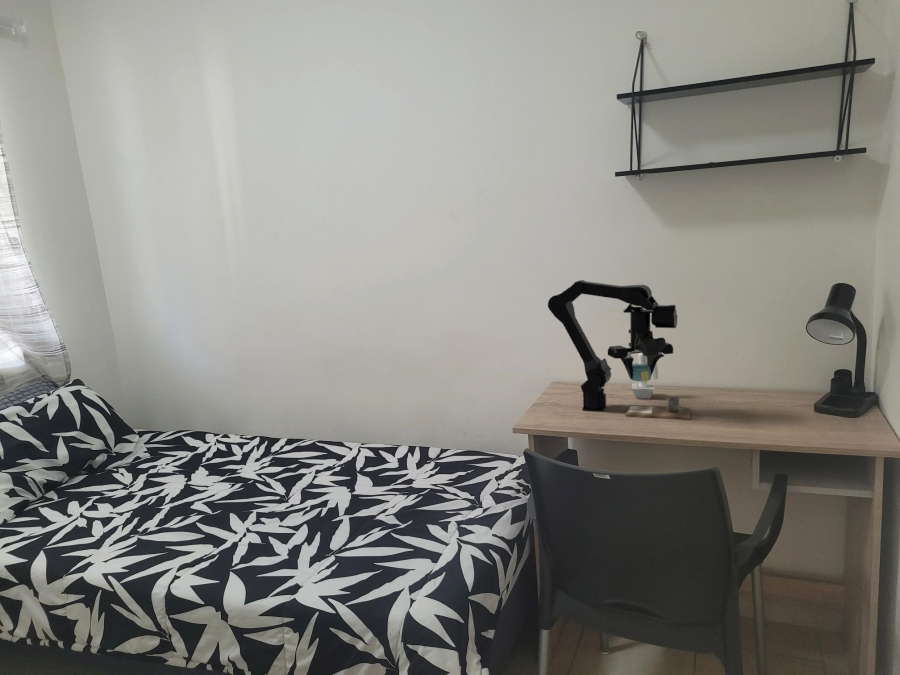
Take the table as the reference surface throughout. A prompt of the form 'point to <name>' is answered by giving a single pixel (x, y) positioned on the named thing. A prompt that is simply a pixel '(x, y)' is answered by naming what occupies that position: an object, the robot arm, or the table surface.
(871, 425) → the table surface
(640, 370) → the cap
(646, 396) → the figurine
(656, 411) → the board
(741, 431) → the table surface
